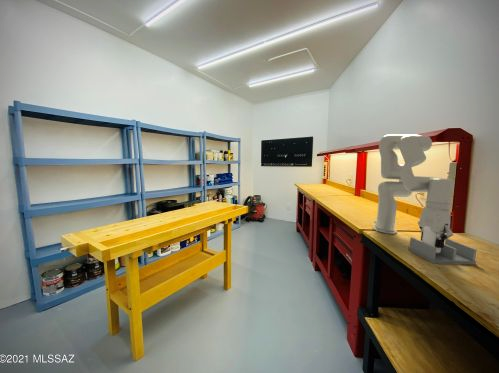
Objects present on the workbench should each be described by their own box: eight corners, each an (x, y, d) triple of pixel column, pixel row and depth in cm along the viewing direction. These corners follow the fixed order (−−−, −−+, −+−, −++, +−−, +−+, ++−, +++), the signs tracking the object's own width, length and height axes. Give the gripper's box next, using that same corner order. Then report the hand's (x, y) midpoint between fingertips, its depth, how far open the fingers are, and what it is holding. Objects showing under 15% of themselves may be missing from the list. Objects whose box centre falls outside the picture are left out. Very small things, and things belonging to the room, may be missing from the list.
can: (432, 253, 83) (436, 227, 81) (417, 247, 89) (420, 223, 88) (444, 252, 84) (448, 227, 83) (428, 246, 90) (431, 222, 89)
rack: (408, 249, 93) (409, 236, 92) (444, 250, 93) (446, 238, 92) (433, 263, 80) (435, 248, 80) (475, 264, 80) (478, 250, 79)
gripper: (412, 201, 93) (407, 236, 95) (448, 210, 75) (442, 252, 78) (427, 202, 92) (422, 237, 95) (467, 211, 75) (460, 253, 78)
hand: (431, 243), depth 86 cm, fingers closed on can, 6 cm apart
